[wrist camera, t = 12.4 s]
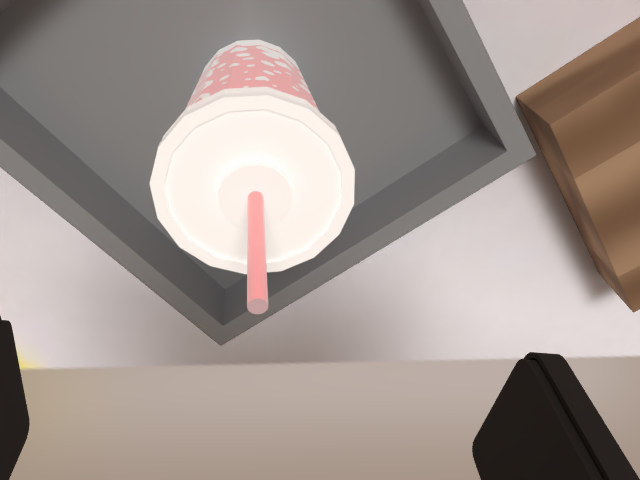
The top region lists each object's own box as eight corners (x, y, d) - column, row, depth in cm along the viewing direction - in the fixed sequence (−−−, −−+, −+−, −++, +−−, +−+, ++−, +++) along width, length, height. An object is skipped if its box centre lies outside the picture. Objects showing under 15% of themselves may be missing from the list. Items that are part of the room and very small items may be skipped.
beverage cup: (265, -14, 21) (284, 122, 9) (348, 106, 24) (440, 317, 12) (151, 79, 22) (47, 294, 11) (244, 180, 25) (240, 428, 14)
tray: (504, 124, 26) (536, 154, 23) (223, 301, 30) (220, 345, 28) (288, -308, 17) (296, -346, 14) (-73, 41, 21) (-123, 67, 18)
